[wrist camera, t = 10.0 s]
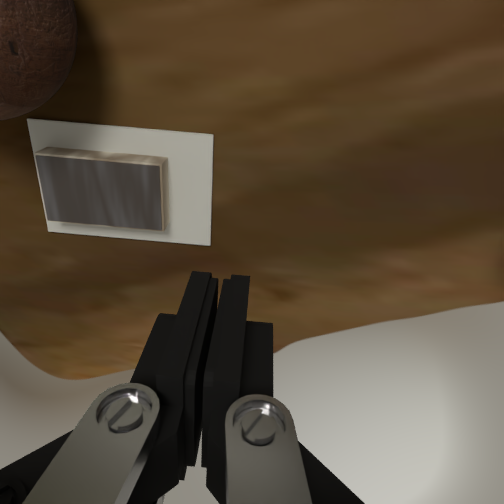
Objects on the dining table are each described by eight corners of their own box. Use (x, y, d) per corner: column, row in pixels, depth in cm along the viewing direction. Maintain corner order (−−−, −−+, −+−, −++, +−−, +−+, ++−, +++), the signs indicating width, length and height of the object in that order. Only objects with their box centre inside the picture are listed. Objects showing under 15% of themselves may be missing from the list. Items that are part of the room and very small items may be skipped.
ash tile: (161, 164, 36) (32, 153, 36) (163, 232, 39) (46, 222, 39) (167, 157, 38) (47, 146, 38) (169, 221, 42) (58, 211, 42)
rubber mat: (213, 134, 37) (213, 135, 37) (210, 244, 43) (210, 245, 43) (29, 118, 37) (26, 118, 37) (50, 230, 43) (48, 231, 43)
